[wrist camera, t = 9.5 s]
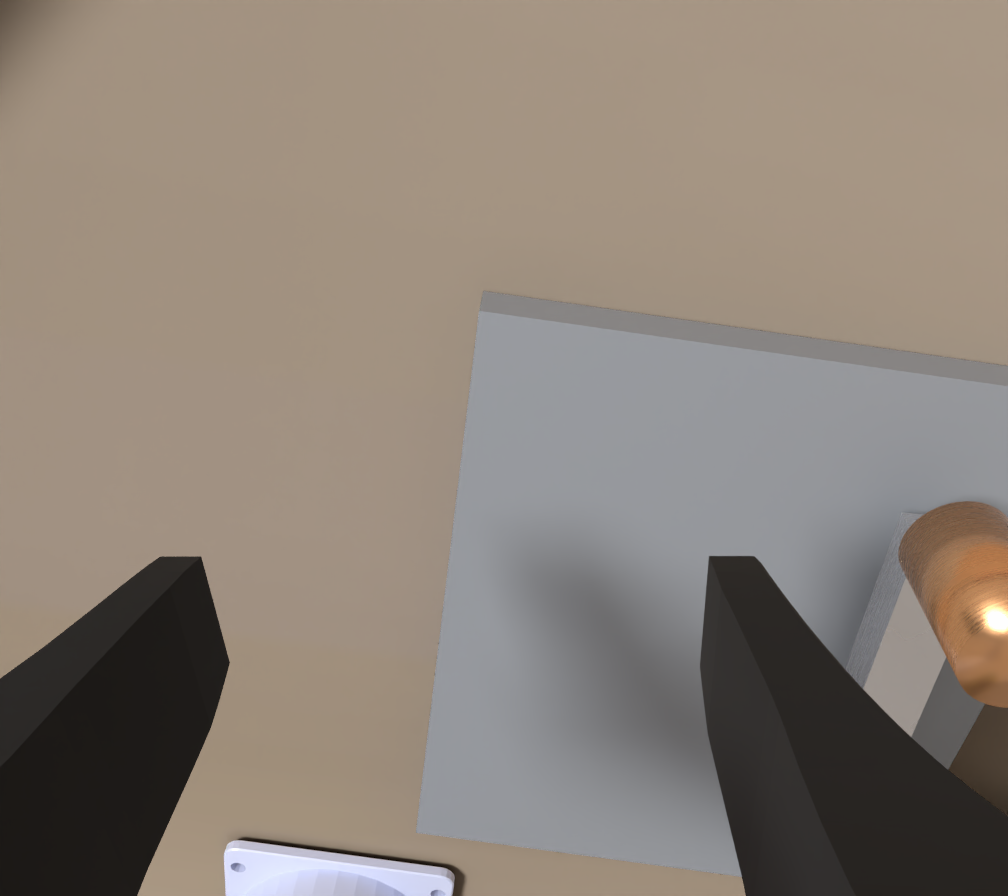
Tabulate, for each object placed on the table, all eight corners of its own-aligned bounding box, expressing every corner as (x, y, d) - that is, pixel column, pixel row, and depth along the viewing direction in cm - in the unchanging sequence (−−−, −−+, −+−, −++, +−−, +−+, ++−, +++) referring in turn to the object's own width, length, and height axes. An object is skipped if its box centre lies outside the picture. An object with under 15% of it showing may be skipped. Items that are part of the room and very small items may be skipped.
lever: (840, 893, 28) (886, 1059, 24) (743, 883, 28) (772, 1047, 24) (1021, 477, 20) (1134, 619, 16) (886, 465, 20) (964, 602, 16)
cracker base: (1023, 882, 30) (1078, 999, 27) (421, 801, 30) (403, 909, 27) (1346, 414, 21) (1487, 506, 18) (483, 291, 21) (467, 361, 18)
